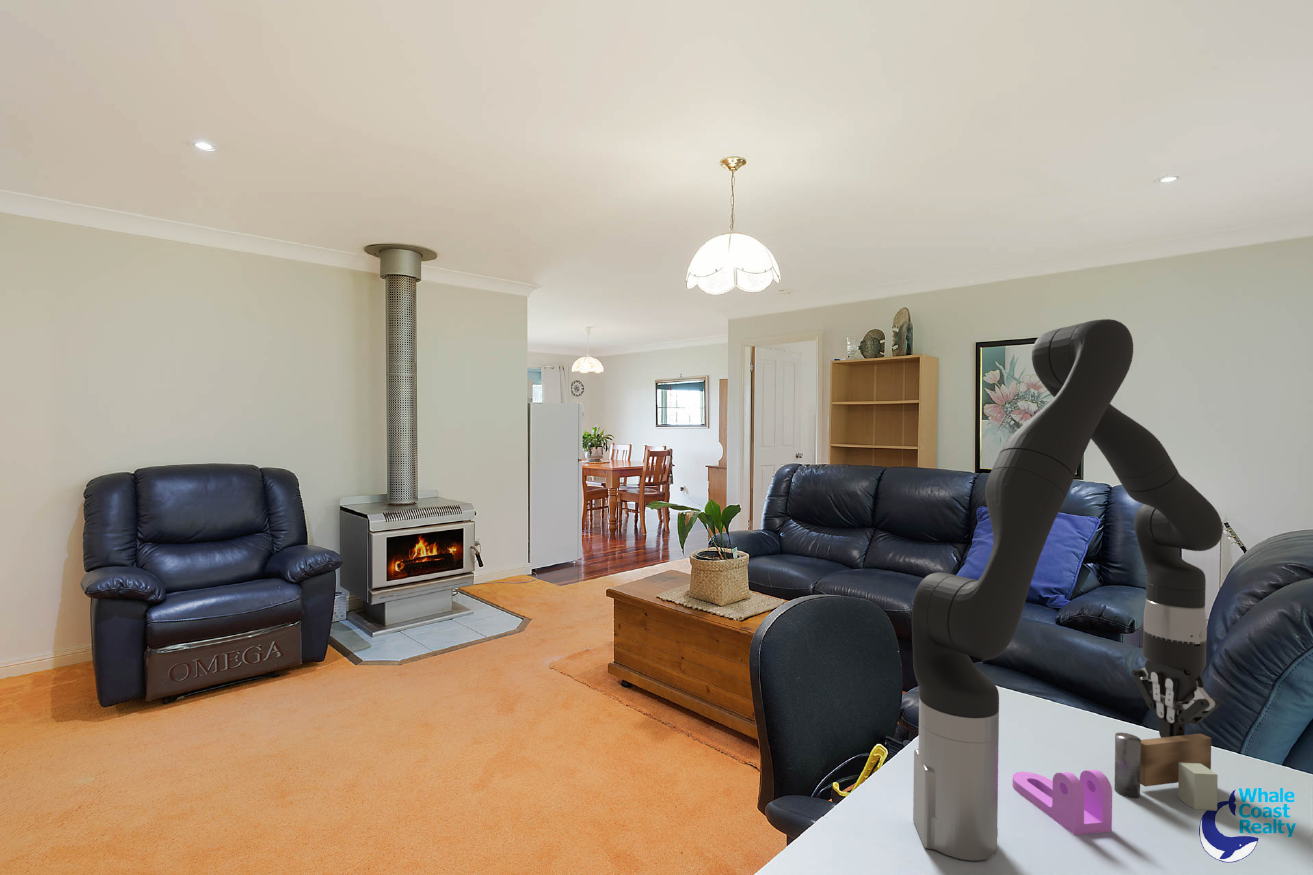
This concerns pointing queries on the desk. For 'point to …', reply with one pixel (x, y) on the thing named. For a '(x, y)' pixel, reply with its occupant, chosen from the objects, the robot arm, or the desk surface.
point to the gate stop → (1197, 786)
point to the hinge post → (1127, 764)
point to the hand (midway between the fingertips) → (1171, 744)
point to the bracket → (1070, 799)
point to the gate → (1172, 757)
